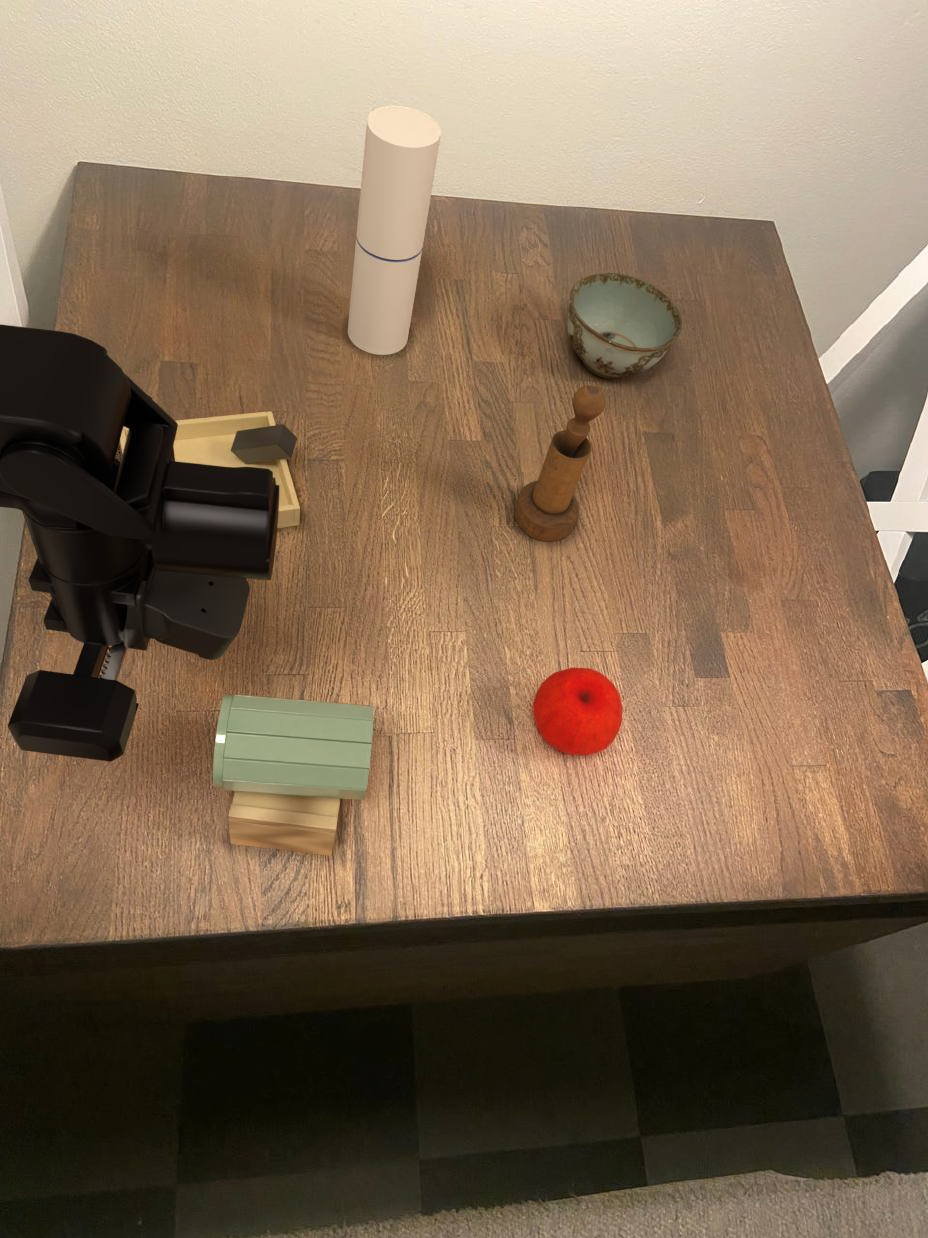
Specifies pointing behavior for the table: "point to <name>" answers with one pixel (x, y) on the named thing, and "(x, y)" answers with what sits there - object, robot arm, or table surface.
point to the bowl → (620, 324)
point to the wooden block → (284, 821)
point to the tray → (213, 447)
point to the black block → (264, 444)
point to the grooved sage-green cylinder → (293, 747)
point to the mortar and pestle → (560, 474)
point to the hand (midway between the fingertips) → (125, 679)
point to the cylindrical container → (391, 225)
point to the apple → (578, 711)
